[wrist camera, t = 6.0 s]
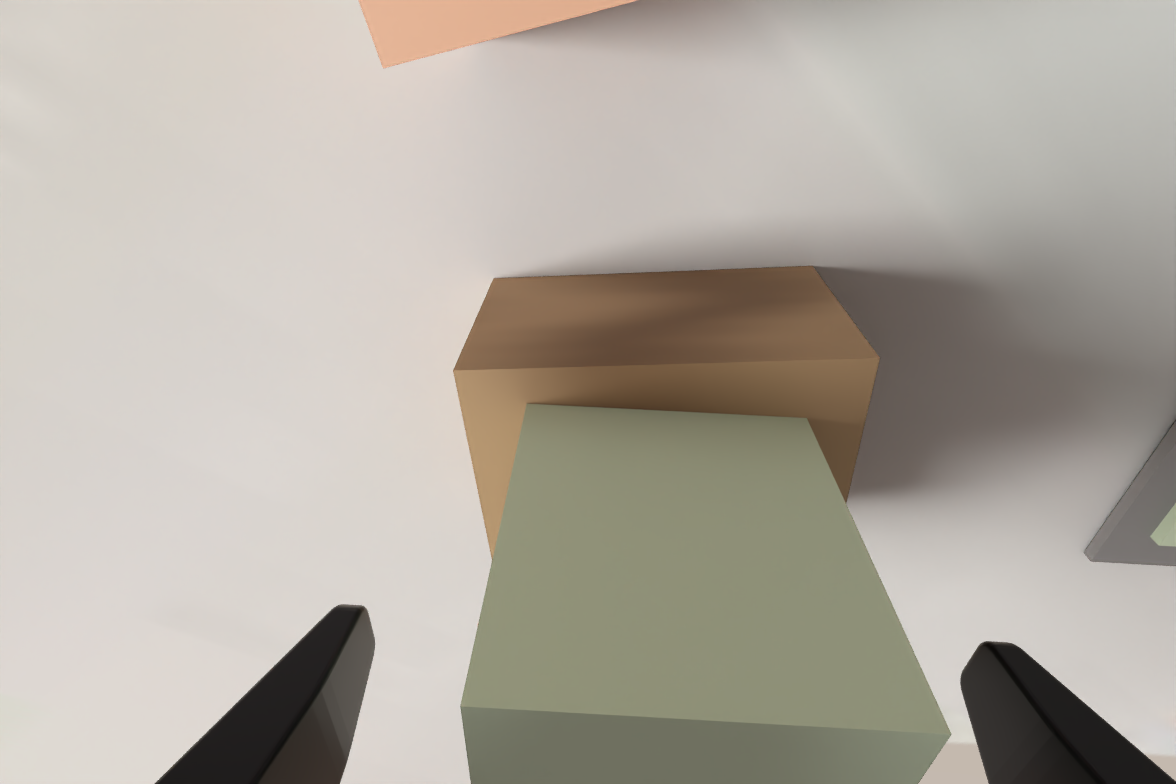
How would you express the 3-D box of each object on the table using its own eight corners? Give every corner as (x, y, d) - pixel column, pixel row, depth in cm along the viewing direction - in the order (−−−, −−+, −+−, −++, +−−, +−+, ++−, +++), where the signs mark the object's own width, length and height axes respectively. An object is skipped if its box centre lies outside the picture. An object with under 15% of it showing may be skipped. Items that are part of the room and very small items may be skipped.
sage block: (754, 601, 12) (828, 917, 8) (530, 588, 12) (486, 896, 8) (807, 418, 10) (951, 734, 6) (527, 403, 10) (459, 705, 6)
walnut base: (809, 261, 12) (879, 357, 9) (774, 497, 16) (816, 630, 13) (495, 273, 13) (453, 370, 10) (528, 501, 16) (506, 631, 13)
